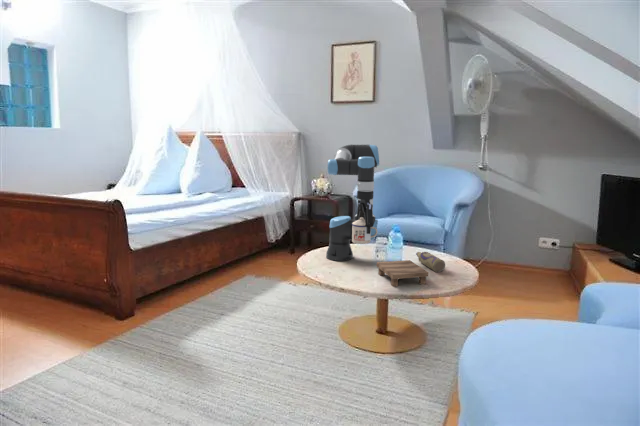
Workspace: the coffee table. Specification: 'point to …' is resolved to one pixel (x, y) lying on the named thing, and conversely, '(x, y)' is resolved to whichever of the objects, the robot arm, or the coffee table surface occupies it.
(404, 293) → the coffee table surface
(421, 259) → the decorative bottle
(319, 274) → the coffee table surface
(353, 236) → the teacup with lid
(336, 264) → the coffee table surface
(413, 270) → the walnut stand
